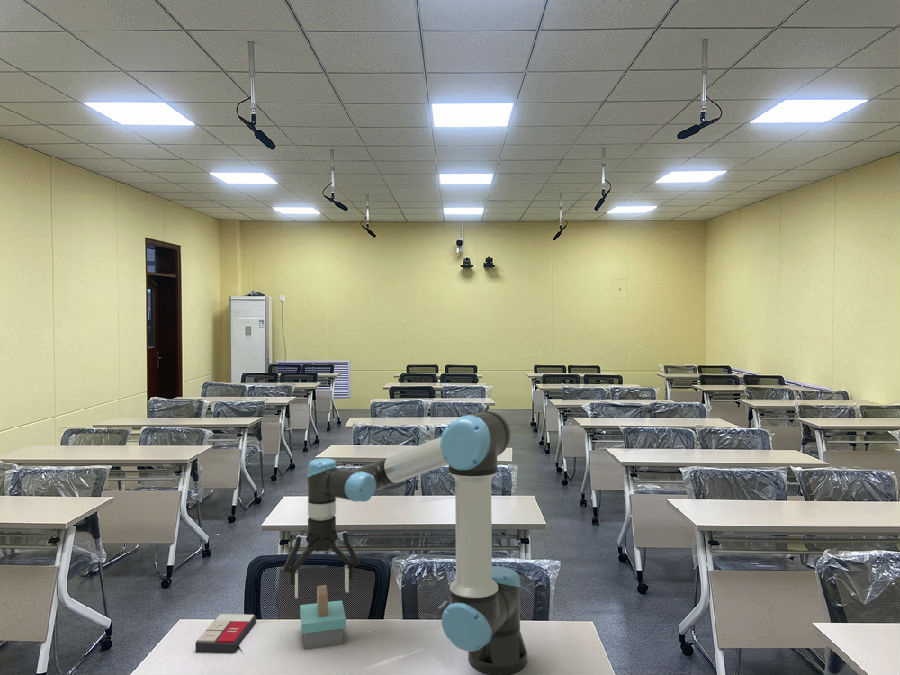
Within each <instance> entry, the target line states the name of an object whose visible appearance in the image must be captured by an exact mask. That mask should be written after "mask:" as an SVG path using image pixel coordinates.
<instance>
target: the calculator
mask: <svg viewBox="0 0 900 675" xmlns="http://www.w3.org/2000/svg"><path fill="white" fill-rule="evenodd" d="M238 620H239V621H238ZM255 625H257V615H255V614H244V613H243V614H242V613H241V614H239V613H236V614H233V613H219V614H218V615H217V616H216V617H215V619H214V620H213V621H212V623H210V625H209V626H208V627H207V628H206V630H205V631H204V632H203V633H202V635H201V636H200V637H199V638H198V639H197V640H196V641H195V645H194V646H195V653H198V654H201V653H202V654H205V653H206V654H236V653H238V651H239V650H240V649H241V647H240V645H241V643H242V642H243V640H244V639H245V638H246V637H247V636H248V634H249V633H250V632H251V631H252V629H253V628H254V627H255Z"/></svg>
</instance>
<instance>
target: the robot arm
mask: <svg viewBox="0 0 900 675" xmlns="http://www.w3.org/2000/svg"><path fill="white" fill-rule="evenodd" d="M511 430H512V429H511V427H510V425H509V422H508V421H507V420H506V418H505V417H504V416H502V415H501V414H500V413H498V412H496V411H490V410H484V411H483V410H482V411H480V412H476V413H472V414H469V415H468V414H467V415H462V416H460V417H458V418H456V419H455V420H452V421H451V422H450V423H448V424H447V425H446V427H445V428H444V430H443V432H442V434H441V436H439V437H437V438H435V439H432V440H429V441H427V442H424V443H422V444H419V445H417V446H414V447H411V448H408V449H405V450H404V451H401V452H399V453H397V454H393V455H390V456H389V457H386V458H383V459H381V460H378V461H375V462H372V463H369V464H367V465H363V466H361V467H358V468H356V469H340V468H337V467H338V466H337V461H336V460H335V459H332V458H316V459H312V460H310V461H309V463H308V470H307V490H308V491H307V493H308V494H307V495H308V496H307V516H308V518H307V535H301V534H296V536H295V543H294V545H293V547H292V549H291V551H290V553H289V554H288V557H287V559H286V561H285V564H284V565H283V572H284V573H289V574H290V586H294V598H295V599H298V598H299V571H298V570H299V568H301V566H302V565H303V564H304V562H305V561H306V559H307V558H309V556H310V555H311V554H312V553H313V552H314V551H315V552H322V551H326V552H327V551H329V550H332V551H333V552H334V553H335V555H337V557H339V559H340V560H341V561H342V562H343V563H344V564H345V565H344V589H345V593H350V592H349V591H350V590H349V588H350V586H349V585H350V584H349V583H350V582H349V580H352V579H353V578H354V577H353V574H354V567H355V566H359V565H360V560H359V558H358V555H357V553H356V552H355V550H354V548H353V546H352V544H351V542H350V541H349V538H348V531H347V530H343V531H342V532H337V518H336V514H337V499H343V500H347V501H353V502H356V503H357V502H364V503H365V502H367V501H370V500H371V498H372V497H373V496H374V495H375V492H377V491H380V490H382V489H384V488H387V487H390V486H393V485H395V484H397V483H400V482H403V481H406V480H409V479H412V478H414V477H418V476H420V475H423V474H426V473H429V472H431V471H433V470H434V471H435V470H437V469H439V468H442V467H445V466H448V473H449V475H450V476H451V477H453V479H454V485H455V486H454V487H455V489H454V490H455V494H454V496H455V501H454V502H455V505H454V506H455V507H454V508H455V511H454V512H455V579H454V580H453V581H451V583H450V584H449V604H448V605H446V606H447V607H445V609H444V611H443V612H442V617H441V627H442V630H443V633H444V635H445V636H446V638H447V639H448V640H449V641H450V642H451V644H452V645H453V646H454V647H456V648H458V649H460V650H462V651H465V652H468V653H467V654H468V656H467V657H468V658H467V661H468V663H469V664H470V666H472V668H474V669H475V670H477V671H479V672H480V673H484V674H487V675H511V674H514V673H518V672H520V671H522V670H523V669H524V668H525V667H526V665H527V664H528V650H527V647H526V644H525V642H524V638H523V635H522V632H521V587H522V586H521V580H520V575H519V574H518V572H517V571H515V570H514V569H511V568H508V567H503V566H494V565H492V564H493V563H492V562H493V559H492V557H493V556H492V551H493V550H492V545H493V544H492V539H493V538H492V534H493V533H492V479H493V478H494V477H495V476H496V475H497V474H498V456H501V454H503V453H504V452H505V451H506V450H507V448H508V447H509V445H510V443H511V439H512V438H511V437H512V431H511ZM338 539H340V541H343V544H344V547H346V549H347V551H348V553H349V554H350V557H351V558H352V560H351V558H349V557H348V556H347V555H346V553H344V551H342V549H341V548H340V547H339V546H338V545H337V544H336V541H337V540H338ZM305 541H306V543H307V544H308V545H307V546H306V548H305V549H304V550H303V552H302V553H301V554H300V555H299V557H298V558H297V559H296V560H295V558H296V556H297V554H298V552H299V549H300V546H301V545H303V544H304V543H305ZM294 560H295V561H294ZM292 563H293V564H292Z"/></svg>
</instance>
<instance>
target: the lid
mask: <svg viewBox="0 0 900 675" xmlns="http://www.w3.org/2000/svg"><path fill="white" fill-rule="evenodd" d="M316 592H317V593H316V594H317V595H316V597H317V598H316V600H317V601H316V602H317V603H308V604H300V606H299V607H300V609H299V611H300V613H299V615H300V617H299V618H300V630H301V631H300V633H301V634H302V635H304V633H311V632H319V631H327V630H334V629H342V628H343V629H346V628H347V617H346V613H345V608H344V604H343V600H334V601H333V600H332V601H329V598H328V596H329V594H328V587H327V584H324V585H317V586H316Z"/></svg>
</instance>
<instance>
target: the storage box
mask: <svg viewBox="0 0 900 675" xmlns="http://www.w3.org/2000/svg"><path fill="white" fill-rule="evenodd" d="M343 629H344V628H342V629H334V630H327V631H319V632H311V633H304V634H303V644H304V646H303V647H304V650H307V649H314V648H315V649H316V648H321V647H322V648H323V647H329V646H330V647H331V646H338V645H343V644H344V639H343V638H344V637H343V636H344V634H343V633H344V632H343Z"/></svg>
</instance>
